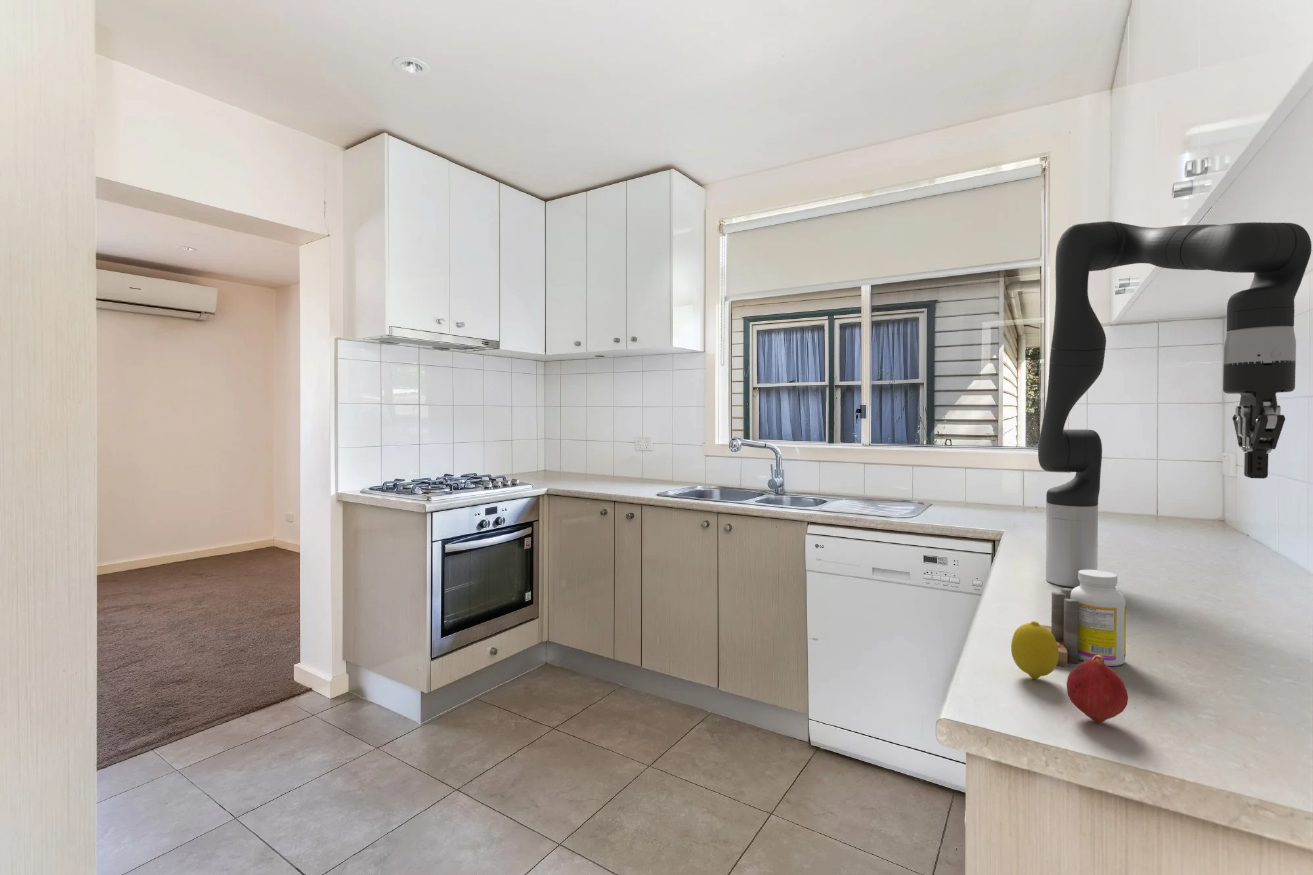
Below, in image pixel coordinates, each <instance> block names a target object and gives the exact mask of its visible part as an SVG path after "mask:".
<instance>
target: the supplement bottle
mask: <svg viewBox="0 0 1313 875" xmlns="http://www.w3.org/2000/svg"><path fill="white" fill-rule="evenodd" d="M1078 579H1079V581H1080V586H1078V587H1073V588H1072V589H1073V590H1072V591H1071V596H1070V599H1074V600H1078V601H1079V642H1078V660H1080V661H1082V662H1085V661H1088V660H1090V659H1092V658H1093V657H1094V656H1096V655H1100V656H1103V657H1104V664H1106V665H1107V666H1108V667H1112V666H1113V667H1114V666H1121V665H1123V664H1124V663H1125V662H1126V651H1127V650H1126V643H1127V642H1126V637H1127V636H1126V635H1127V634H1126V630H1127V629H1126V628H1127V626H1126V625H1127V624H1126V619H1127V618H1126V613H1127V612H1126V609H1127V605H1126V604H1127V601H1126V597H1125V596H1124V594H1123V593H1122V592H1120V591H1119V590H1117V589H1116V586H1117V584H1118V575H1117V574H1116V573H1114V572H1110V571H1107V570H1099V569H1097V570H1080V571H1079V572H1078Z"/></svg>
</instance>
